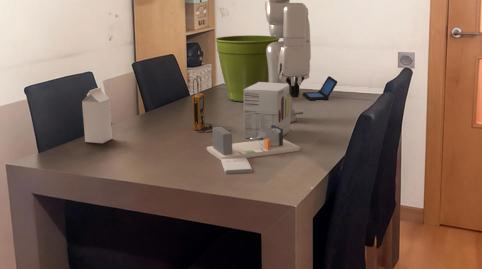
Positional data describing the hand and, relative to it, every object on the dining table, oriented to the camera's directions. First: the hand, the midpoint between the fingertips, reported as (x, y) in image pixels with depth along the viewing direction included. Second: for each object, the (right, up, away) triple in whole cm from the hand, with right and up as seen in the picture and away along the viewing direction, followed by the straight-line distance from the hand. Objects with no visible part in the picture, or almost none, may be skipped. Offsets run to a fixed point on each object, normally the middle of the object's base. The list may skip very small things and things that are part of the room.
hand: (294, 96), depth 215 cm
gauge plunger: (-10, -17, -1) cm, 19 cm away
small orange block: (-9, -17, -6) cm, 21 cm away
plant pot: (-15, +4, +85) cm, 87 cm away
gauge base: (-14, -18, -1) cm, 23 cm away
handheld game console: (+19, +4, +86) cm, 89 cm away
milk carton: (-69, -15, +14) cm, 73 cm away
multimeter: (-31, -11, +30) cm, 44 cm away
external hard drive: (-19, -24, -19) cm, 36 cm away
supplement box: (-8, -13, +20) cm, 25 cm away
